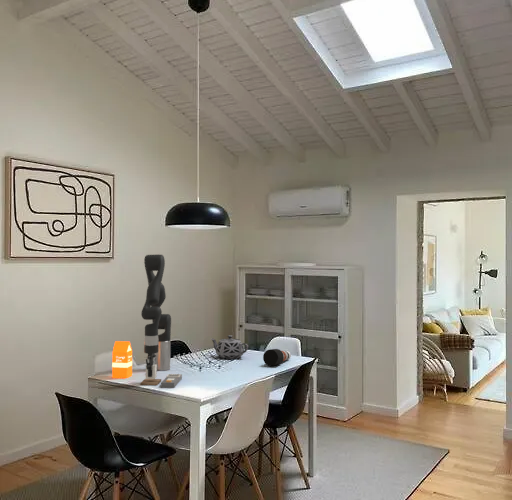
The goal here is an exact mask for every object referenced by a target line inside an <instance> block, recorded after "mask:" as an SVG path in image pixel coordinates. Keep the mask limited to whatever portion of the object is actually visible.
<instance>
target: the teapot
mask: <svg viewBox="0 0 512 500" xmlns="http://www.w3.org/2000/svg"><path fill="white" fill-rule="evenodd" d="M210 340H211V341H212V343H213V348H214V350H215V354H216V355H217V357H219V358H220V357H221V358H220V359H224V358H226V360H233V359H234V360H235V359H239V358H241V357H242V356H243V355H244V354H245V353H246V352H247V351H248V350H249V345H248V343H246V342H245V343H244V342H242V341H241V340H240V339H238V338H233V335H231V334H230V335H227V338H222V339H219V341H218V343H217V340H216V339H215V338H210ZM244 346H245V348H244Z"/></svg>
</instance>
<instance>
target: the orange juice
mask: <svg viewBox="0 0 512 500" xmlns="http://www.w3.org/2000/svg"><path fill="white" fill-rule="evenodd" d="M111 357H112V358H111V359H112V362H111V364H112V365H111V371H112V373H111V378H112V379H126V378H127V379H129V378H130V377H132V376H133V348H132V344H131V341H124V340H123V341H121V340H116V341H114V345H113V349H112V355H111Z"/></svg>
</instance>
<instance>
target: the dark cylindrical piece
mask: <svg viewBox="0 0 512 500" xmlns="http://www.w3.org/2000/svg"><path fill="white" fill-rule="evenodd" d="M291 357H292V354H291V352H290V351H288V350H281V349H278V348H270V349H267V350H265V351H264V353H263V356H262V359H263V362H264V364H266V365H267V366H269V367H270V366H271V367H272V366H278V365H280V364H282V363H283V362H285V361H287V360H288V361H289V360H291Z"/></svg>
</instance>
